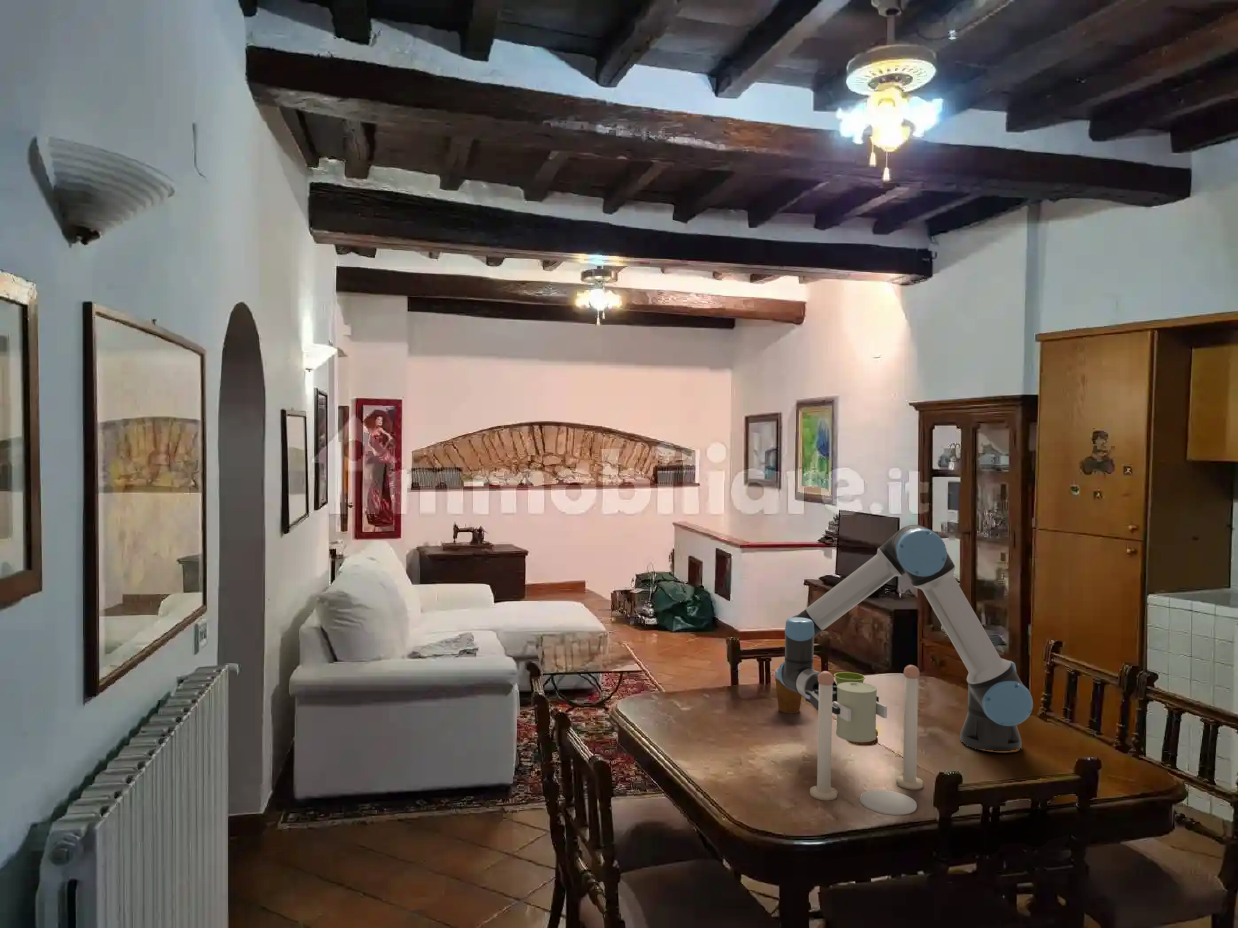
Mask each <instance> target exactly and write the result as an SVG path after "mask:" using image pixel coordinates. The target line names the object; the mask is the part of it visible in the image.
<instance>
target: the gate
mask: <svg viewBox="0 0 1238 928" xmlns="http://www.w3.org/2000/svg"><path fill="white" fill-rule="evenodd" d="M903 669H904V670H903V676H904V698H903V699H904V701H903V702H904V705H903V707H904V708H903V711H904V712H903V748H902V749H903V751H902V754H903V755H902V760H903V761H902V762H903V763H902V775H898V776H896V778H895V784H896V785H897V786H899V788H902V789H906V790H921V789H923V788H924V781H923V780H922V779H921V778H920V777H917V765H918V764H917V763H918V762H917V761H918V755H917V753H918V719H919V718H918V713H919V711H918V710H919V707H918V706H919V677H920V675H921V672H920V669H919V668H918V667H917V666H916V665H913V664H908V665H906V666H905V667H904V668H903ZM834 681H835V677H834V674H832V673H831V672H829V671H827V670H823V671H821V672H820V674H819V675H818V682H819V706H818V710H817V714H818V718H817V719H818V722H817V761H816V762H817V770H816V772H817V773H816V777H817V778H816V785H814V786H811V787H810V789H809V790H810V791H809V794H810V796H811V797H812V798H814V799H815V800H816V799H817V800H820V801H833V800H834V801H835V800H836V799H837V798H838V790H837V789H836V788H834V787H832V786H831V785H832V784H831V781H832V779H831V778H832V738H833V737H832V731H833V729H832V727H833V723H832V722H833V713H832V704H833V702H832V684H833V682H834Z"/></svg>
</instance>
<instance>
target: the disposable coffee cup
mask: <svg viewBox="0 0 1238 928" xmlns="http://www.w3.org/2000/svg"><path fill="white" fill-rule="evenodd" d="M778 669H779V667H777V668H775V670H774V673H773V677H774V678H775V680H774V681H775V688H776V697H777V698H776V699H777V707H778V711H780V712H781V713H785V714H796V713H800V711H801V705H802V704H801V703H802V697H803V696H802V695H800V694H798V693H797V692H795V691H792V690H790V689H788V688H787V687H786V686H785V685H783V684H782V683H781V682H780V680H779V677H778Z"/></svg>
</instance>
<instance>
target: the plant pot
mask: <svg viewBox="0 0 1238 928" xmlns="http://www.w3.org/2000/svg"><path fill="white" fill-rule="evenodd" d="M833 677H834V680H835V682H836V684H837V685H838V684H840V683H844V682H859V683H864V680H865V679H866V677H865V675H863V674H860V673H857V672H850V671H847V672H846V671H844V672H843V671H841V672H836V673H834V674H833Z"/></svg>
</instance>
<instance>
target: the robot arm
mask: <svg viewBox="0 0 1238 928" xmlns="http://www.w3.org/2000/svg"><path fill="white" fill-rule="evenodd" d="M955 569H956V565H955V563H954V562H953V560H952V558H951V557H950V555H949V553H948V551H947V548H946V544H945V542H944V540H943V538H942V537H941V536H940V535H939V534H938V533H936V532H935V531H933V529H929V528H927V527H925V526H923V525H919V524H908V525H905V526H904V527H901V528H900V529H899V530H898V531H897V532H895V533H894V534H893V535H892V536H891V537H890V538H889V539H888V540H887V541H885V543H883V544H882V545H881V546H880V547H878V548H877V551H876V554H875V555H874V556H872V557H871V558H870V559H868V560H867V561H866V562H865V563H863V564H862V565H860V567H858V568H857V569H856V570H854V571H853V572H852V573H850V574H849V575H848V576H846V577H845V578H844V579H843V580H841V581H840V582H839V583H837V584H836V585H835V586H833V587H832V588H831V589H829V590H828V591H827V592H826V593H824V594H823V595H822V596H821V597H819V598H817V600H815V601H814V602H812V603H811V604H810V605H808V607H806V608H805V609H804V610H802V611H801V612H800V613H799V614H795V615H793V616H791V617H789V618H786V621H785V626H784V640H785V641H784V661H783V662H781V663H780V666H779V667H778V668H779V669H778V677H779V680H780V682H781V683H782V684H783V685H785V686H786V687H787V688H788V689H790V690H792V691H795V692H797V693H798V694H800V695H802V697H804V698H805V702H807V703H810V705H811V706H812V707H814V708H815V709H816V711H818V706H819V682H818V675H819V674H820V673H821V672H820V671H819V670H818V671H817V670H816V669H814V651H815V650H814V648H815V645H814V644H815V637H817V636H818V635H819V634H820V633H822V632H823V631H824V630H825V629H827V628H828V627H829V626H831V625H832V624H834V622H836V621H837V620H839V619H840V618H841V617H842V616H844V615H845V614H847V613H848V612H849V611H851V610H852V609H853V608H855V607H856V606H857V605H858V604H860V603H861V602H863V601H864V600H865V599H866V598H868V597H869V596H871V595H873V593H875V592H876V591H877V590H879V588H881V587H883V586H884V585H885V584H886V583H888V582H889V581H891V580H892V579H893V578H894V577H902V576H904V575H905V574H906V576H907V577H908V580H909V581H910V583H911V585H912V587H913V588H917V589H919V590H921V591H922V592H923V595H924V596H925V597H926V600H927V601H928V603H929V605H930V606H931V608H932V610H933V612H934V614H935V615H936V617H937V619H938V620H939V622H940V624H941V626H942V628H943V629H944V631H945V633H946V634H947V636H948V638H949V639H950V641H951V643H952V645H953V647H954V648H955V649H954V650H955V651H956V653H957V654H958V656H959V657H960V659H961V661H962V663H963V665H964V667H965V668H966V670H967V671H968V674H967V676H966V682H967V684H968V685H967V689H968V690H967V691H968V693H967V714H966V717H965V719H964V722H963V725H962V727H961V729H960V734H959V735H960V736H959V737H960V738H959V739H960V740H961V741H960V742H961V743H962V742H963V743H964V744H966V745H968V746H969V747H968V746H967V747H968V748H970V747H972V748H971V749H973V748H976V749H985V750H993V751H1011V750H1016V749H1020V748H1021V749H1022V737H1021V735H1020V731H1019V729H1018V725H1020V724H1023V722H1025V721H1026V720H1028V718H1029V717H1030V716H1031V713H1032V712H1033V707H1034V702H1033V701H1034V700H1033V697H1032V694H1031V691H1030V690H1029V688H1027V687H1026V686H1025V685H1024V683H1023V682H1022V681H1021V678H1020V677H1019V675H1018V673H1017V667H1016V663H1015V662H1013V661H1012V660H1008V659H1005V658H1001V656H1000V655H999V652H998V651H997V650H996V647H995V646H994V644H993V642H992V641H991V639H990V637H989V635H988V633H987V632H986V630H985V629H984V627H983V625H982V623H981V621H980V620H979V618H978V616H977V614H976V612H975V611H974V608H972V605H971V603H970V602H969V600H968V598H967V597H966V595H965V594H964V591H963V590H962V588H961V586H960V585H959V582H958V581H957V579H956V577H955V576H954V573H955ZM832 714H834V715H835V716H836V717H837V716H839V717H841V718H843V719H844V720H846V721H851V709H849V708H847V707H845V706H843V705H842V704H840V703H838V702H837V682H836V680H834V682H833V684H832ZM876 716H879V717H881V718H883V719H887V718H888V706H887V705H884V704H883V703H881V702H880V696H878V695H876ZM963 743H962V744H963ZM964 744H963V745H964ZM966 745H965V746H966ZM976 749H975V750H976Z"/></svg>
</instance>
